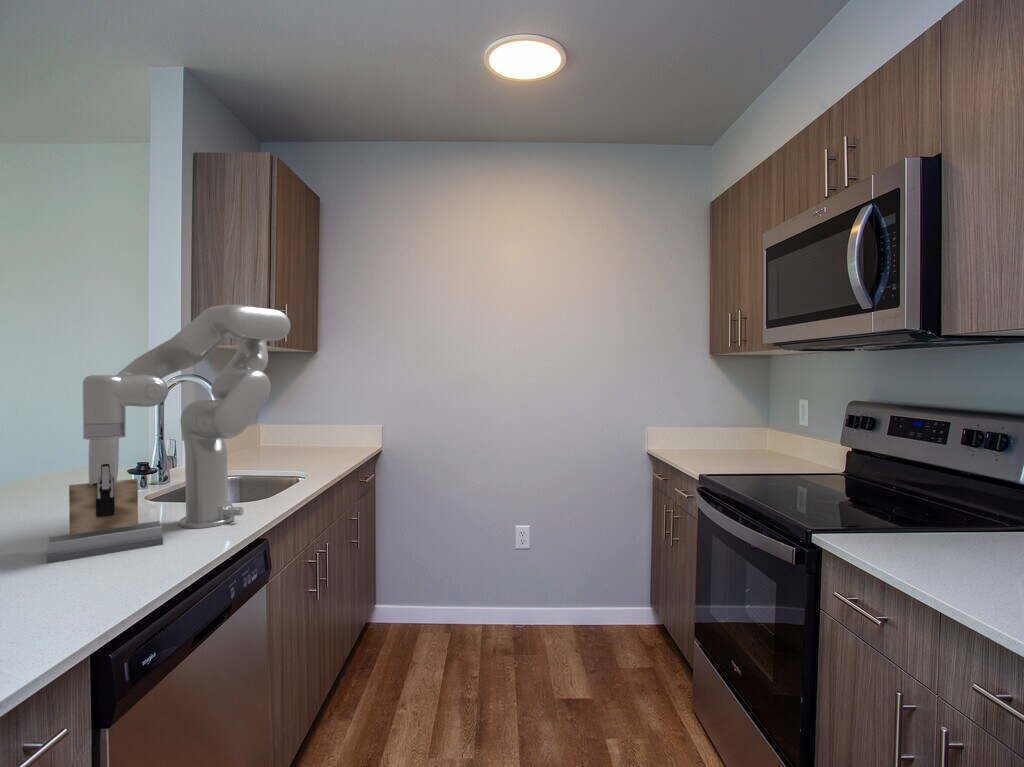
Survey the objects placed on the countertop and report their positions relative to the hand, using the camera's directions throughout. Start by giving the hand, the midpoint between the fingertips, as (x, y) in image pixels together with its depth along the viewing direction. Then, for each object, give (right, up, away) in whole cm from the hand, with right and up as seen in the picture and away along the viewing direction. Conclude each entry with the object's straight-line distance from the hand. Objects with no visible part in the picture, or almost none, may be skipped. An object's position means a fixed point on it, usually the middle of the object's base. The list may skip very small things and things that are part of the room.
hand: (105, 513), depth 122 cm
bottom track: (0, -8, 0) cm, 8 cm away
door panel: (0, -3, 0) cm, 3 cm away
